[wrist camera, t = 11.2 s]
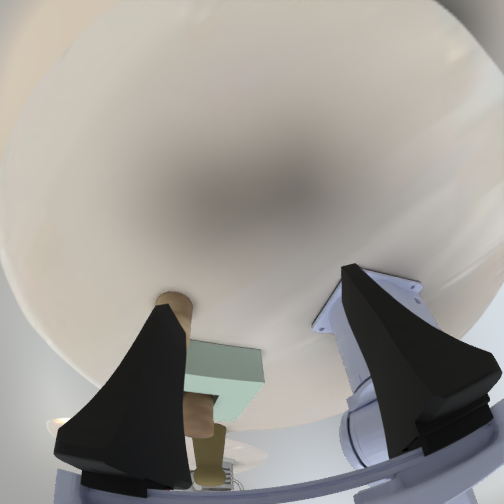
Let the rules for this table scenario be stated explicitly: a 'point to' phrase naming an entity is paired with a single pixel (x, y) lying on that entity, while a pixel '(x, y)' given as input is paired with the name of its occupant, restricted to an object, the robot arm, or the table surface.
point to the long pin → (198, 415)
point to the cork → (210, 458)
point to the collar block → (224, 376)
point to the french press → (227, 485)
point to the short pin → (179, 309)
